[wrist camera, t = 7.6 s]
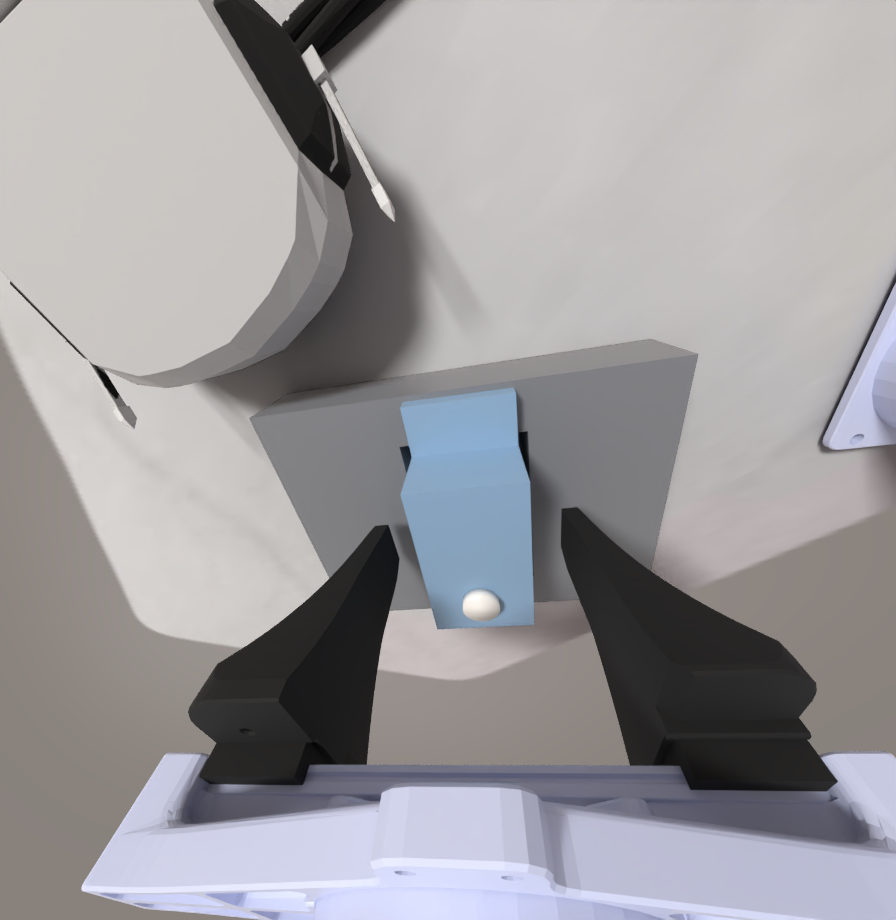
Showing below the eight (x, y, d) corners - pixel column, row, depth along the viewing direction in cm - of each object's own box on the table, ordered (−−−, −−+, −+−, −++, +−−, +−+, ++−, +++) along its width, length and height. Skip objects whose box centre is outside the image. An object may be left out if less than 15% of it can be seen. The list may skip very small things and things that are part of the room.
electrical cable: (498, -170, 8) (502, -226, 7) (513, -105, 8) (520, -151, 7) (174, 153, 11) (149, 143, 10) (197, 186, 11) (175, 179, 11)
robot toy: (-133, 18, 10) (216, 411, 15) (-539, -173, 6) (121, 449, 11) (56, -465, 7) (429, 256, 12) (-604, -1670, 3) (403, 229, 8)
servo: (505, 369, 13) (530, 426, 8) (517, 557, 19) (536, 662, 13) (413, 382, 14) (381, 444, 9) (450, 561, 19) (444, 665, 14)
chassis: (651, 339, 13) (698, 354, 10) (620, 551, 19) (645, 595, 16) (287, 393, 15) (249, 418, 12) (361, 571, 21) (346, 613, 18)
